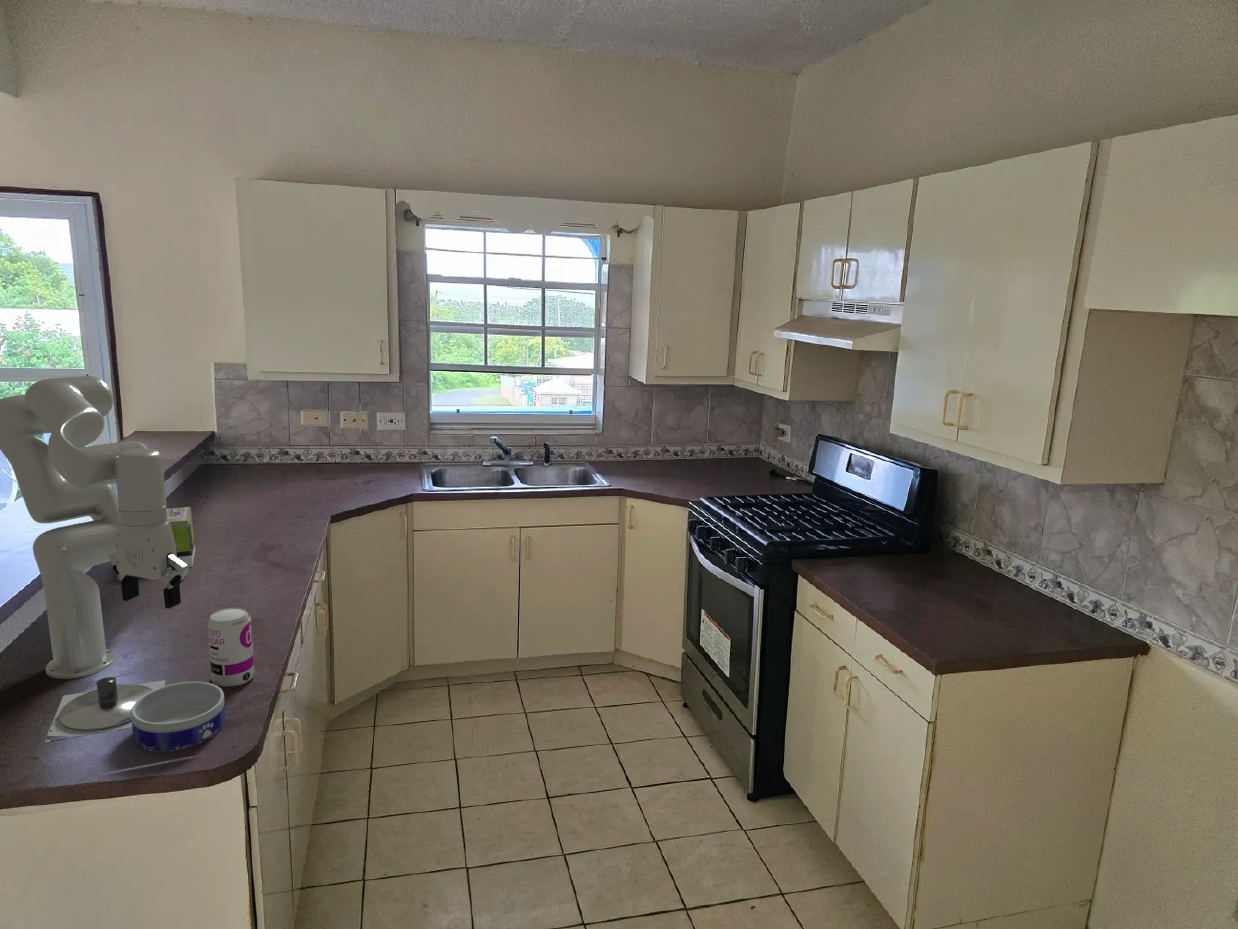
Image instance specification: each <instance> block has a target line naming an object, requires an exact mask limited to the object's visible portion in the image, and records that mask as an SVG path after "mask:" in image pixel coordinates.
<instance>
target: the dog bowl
mask: <svg viewBox="0 0 1238 929" xmlns="http://www.w3.org/2000/svg"><path fill="white" fill-rule="evenodd" d="M225 715H226V714H225V693H224V691H223V689H222V688H221V687H220V686H219V685H216V684H214V683H211V682H205V681H197V680H196V681H195V680H194V681H183V682H177V683H171V684H167V685H165V686H163V687H160V688H158V689H155V690H153V691H151V692H149V693H147V694H145V695H144V696H142V697H141V698H139V699H138V700H137V701H136V702H135V703H134V705H133V707H132V709H131V718H132V727H133V728H132V733H133V739H134V742H135V744H136V746H137V747H139V748H140V749H142V748H143V749H142V750H144V749H146V750H152V751H170V750H176V749H177V750H178V749H181V748H187V749H189V748H188V747H190V748H192V747H191V746H193V745H196V744H198V743H200V742H203V743H205V742H206V741H205V740H207V739H209V738H211V737H212V736H214V737H215V736H217V734H219V733H220V732H219V731H221V730H222V729H223V727H224V725H225ZM218 732H219V733H218ZM212 738H213V737H212ZM212 738H211V739H212ZM209 740H210V739H209ZM204 741H205V742H204ZM207 741H208V740H207ZM196 746H197V745H196ZM193 747H194V746H193ZM146 750H145V751H146Z"/></svg>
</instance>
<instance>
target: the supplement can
mask: <svg viewBox="0 0 1238 929" xmlns="http://www.w3.org/2000/svg"><path fill="white" fill-rule="evenodd" d="M251 619H252V617H251V616H250V614H249V613H248V611H247V610H246V609H245V608H241V607H229V608H222V609H220V610H216V611H215V612H212V614H210V616H209V619H208V621H207V624H206V625H207V639H208V648H209V660H210V673H211V682H212V684H214V685H216V686H218V687H236V686H239V685H240V686H243V685H245V684H247V683H248V681H251V680H252V679H253V678H254V676H255V661H254V659H255V658H254V649H253V648H254V646H253V645H254V644H253V632H252V631H253V629H252V620H251ZM246 682H247V683H246ZM244 683H245V684H244ZM242 684H243V685H242Z"/></svg>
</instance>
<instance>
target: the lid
mask: <svg viewBox="0 0 1238 929" xmlns="http://www.w3.org/2000/svg"><path fill="white" fill-rule="evenodd" d="M151 691H153V689H151V688H149V687H147V686H143V685H136V684H135V683H134V684H132V683H131V684H129V683H128V684H126V683H125V684H117V679H116V677H114V676H107V677H103V678H101V679H98V680H97V681H96V689H94V690H91V692H90V691H87V692H88V693H85V694H83V695H81V696H79V697H77V698H75V699H73V700H72V701H70V702H69V703H67V704H66V705H65V706H64V707H63V708H62V709H61V711H60V714H59V717H60V723H61V724H62V725H63V726H64V727H65V728H68V729H71V730H75V731H97V730H104V729H109V728H113V727H117V726H120V725H123V724H126V723H129V722H131V721H132V718H131V709H132V707H133V705H134V703H135V702H136V701H137V700H138V699H139V698H141V697H142V696H144V695H145V694H147V693H149V692H151Z"/></svg>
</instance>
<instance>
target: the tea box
mask: <svg viewBox="0 0 1238 929" xmlns="http://www.w3.org/2000/svg"><path fill="white" fill-rule="evenodd" d="M167 517H168V522H169V523H170V526H171V529H172V533H173V537H174V541H175V547H176V554H177V558H179V559H180V560H181V561H183V562H184V563H185V564H187V565H188V566H189V568H192V567H194V566H193V565H194V560H195V554H196V545H195V536H194V529H193V528H194V527H193V519H192V518H193V517H192V509H191V506H185V507H175V508H173V507H172V508H167Z"/></svg>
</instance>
